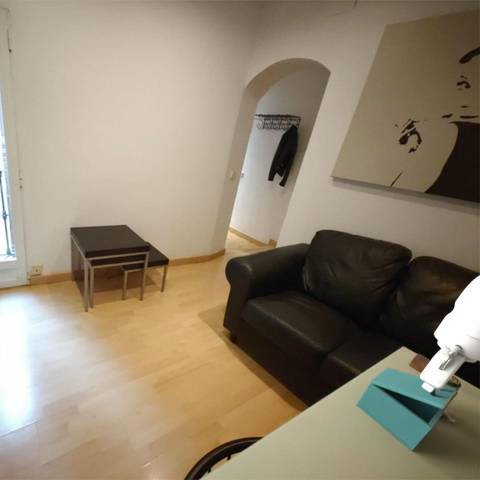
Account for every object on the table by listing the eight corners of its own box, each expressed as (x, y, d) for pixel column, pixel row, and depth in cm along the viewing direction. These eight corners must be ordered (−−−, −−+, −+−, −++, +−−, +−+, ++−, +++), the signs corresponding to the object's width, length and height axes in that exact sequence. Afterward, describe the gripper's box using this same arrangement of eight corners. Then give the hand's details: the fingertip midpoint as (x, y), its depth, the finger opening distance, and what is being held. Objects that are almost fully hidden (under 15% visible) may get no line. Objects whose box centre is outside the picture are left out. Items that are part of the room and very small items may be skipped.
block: (427, 370, 90) (433, 362, 89) (423, 374, 88) (429, 365, 87) (412, 361, 93) (418, 353, 92) (408, 365, 91) (414, 356, 90)
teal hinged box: (426, 431, 69) (445, 409, 66) (411, 451, 64) (431, 428, 60) (373, 390, 79) (387, 369, 75) (356, 405, 73) (370, 383, 70)
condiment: (404, 392, 80) (425, 364, 75) (433, 399, 79) (457, 370, 75) (423, 416, 73) (448, 386, 69) (455, 423, 73) (482, 394, 68)
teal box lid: (456, 391, 64) (455, 371, 64) (443, 409, 58) (441, 387, 58) (388, 370, 75) (386, 352, 75) (371, 383, 70) (370, 364, 70)
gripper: (473, 366, 51) (434, 413, 56) (495, 337, 61) (460, 379, 66) (430, 343, 55) (398, 389, 61) (457, 319, 66) (428, 360, 71)
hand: (431, 383), depth 64 cm, fingers closed on teal box lid, 5 cm apart
